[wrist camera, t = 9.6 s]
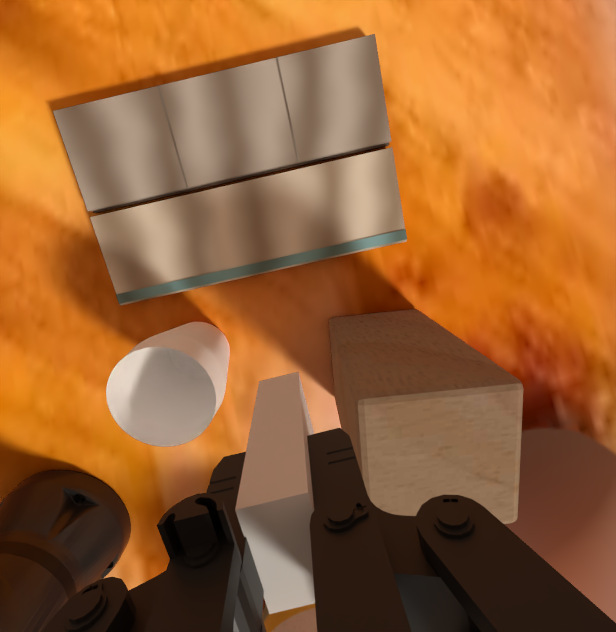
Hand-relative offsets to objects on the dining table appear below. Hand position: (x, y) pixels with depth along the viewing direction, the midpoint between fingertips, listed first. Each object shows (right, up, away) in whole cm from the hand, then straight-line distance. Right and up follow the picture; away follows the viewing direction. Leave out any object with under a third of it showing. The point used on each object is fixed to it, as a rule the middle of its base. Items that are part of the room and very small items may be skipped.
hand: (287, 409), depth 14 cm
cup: (-11, 0, +27) cm, 30 cm away
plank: (-5, +12, +24) cm, 28 cm away
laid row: (-7, +22, +22) cm, 32 cm away
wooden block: (+8, -1, +28) cm, 29 cm away
